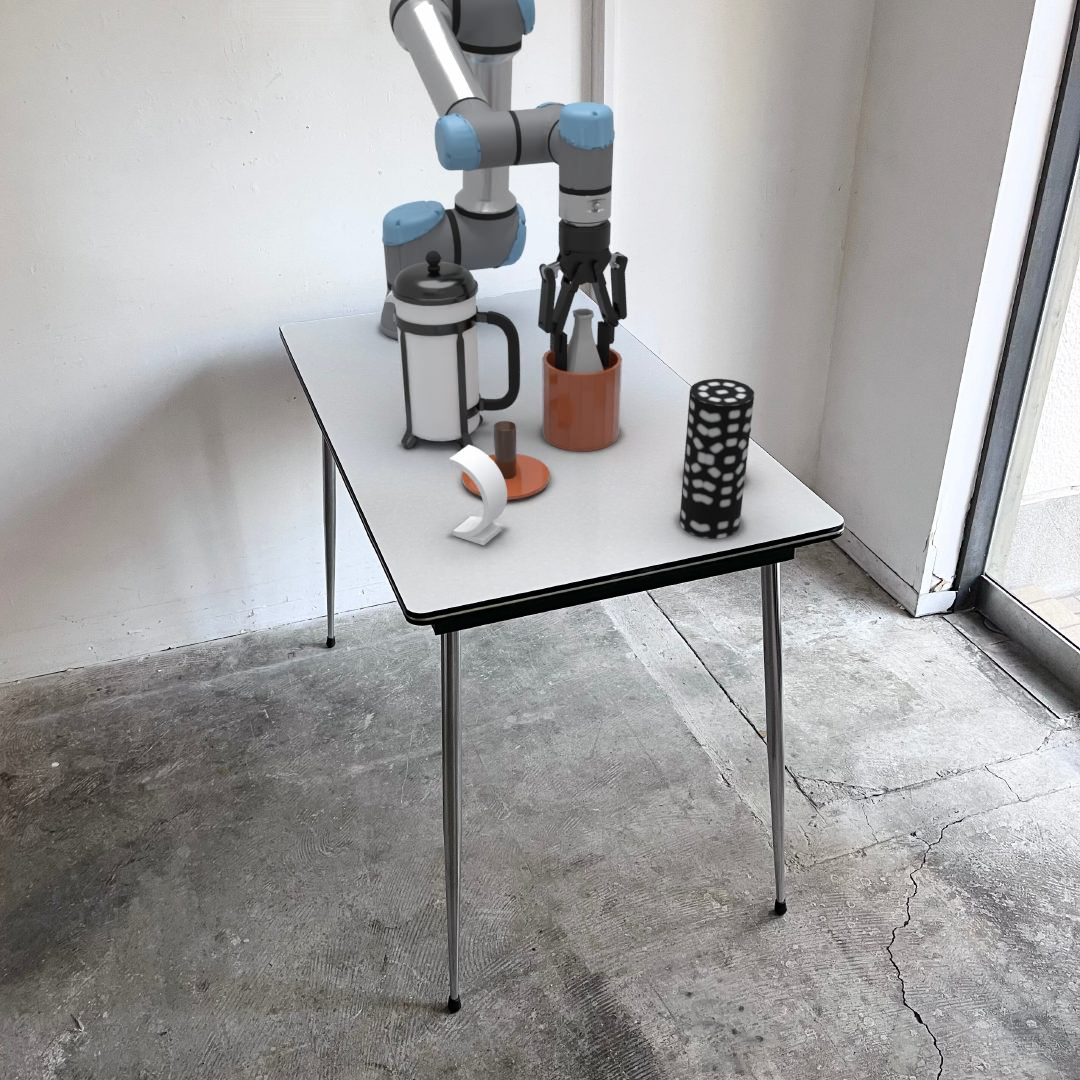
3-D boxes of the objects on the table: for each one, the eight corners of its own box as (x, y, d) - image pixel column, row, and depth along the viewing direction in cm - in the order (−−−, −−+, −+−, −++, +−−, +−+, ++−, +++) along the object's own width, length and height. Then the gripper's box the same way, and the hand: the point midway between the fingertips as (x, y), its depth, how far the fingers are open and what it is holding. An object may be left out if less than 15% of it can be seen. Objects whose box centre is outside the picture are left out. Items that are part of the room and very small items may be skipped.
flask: (612, 378, 168) (615, 316, 162) (569, 386, 165) (570, 323, 160) (593, 361, 173) (595, 301, 168) (551, 368, 171) (551, 307, 166)
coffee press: (427, 468, 165) (415, 277, 149) (380, 428, 177) (364, 246, 160) (523, 439, 173) (521, 254, 157) (472, 403, 185) (465, 227, 168)
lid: (449, 470, 165) (446, 416, 160) (527, 453, 169) (527, 399, 164) (482, 511, 155) (480, 454, 150) (564, 491, 160) (564, 435, 155)
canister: (530, 425, 178) (529, 351, 171) (596, 411, 182) (598, 338, 175) (563, 457, 168) (564, 380, 161) (632, 441, 173) (636, 366, 166)
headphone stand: (471, 520, 153) (468, 444, 146) (508, 532, 150) (506, 455, 144) (453, 535, 150) (449, 458, 143) (490, 547, 147) (487, 469, 140)
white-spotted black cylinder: (693, 542, 148) (705, 409, 137) (670, 512, 154) (680, 383, 144) (749, 533, 150) (765, 401, 139) (724, 503, 156) (737, 375, 146)
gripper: (534, 235, 150) (535, 388, 163) (656, 217, 157) (648, 365, 169) (512, 221, 156) (514, 369, 168) (631, 204, 163) (625, 348, 175)
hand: (581, 367), depth 169 cm, fingers closed on flask, 7 cm apart
